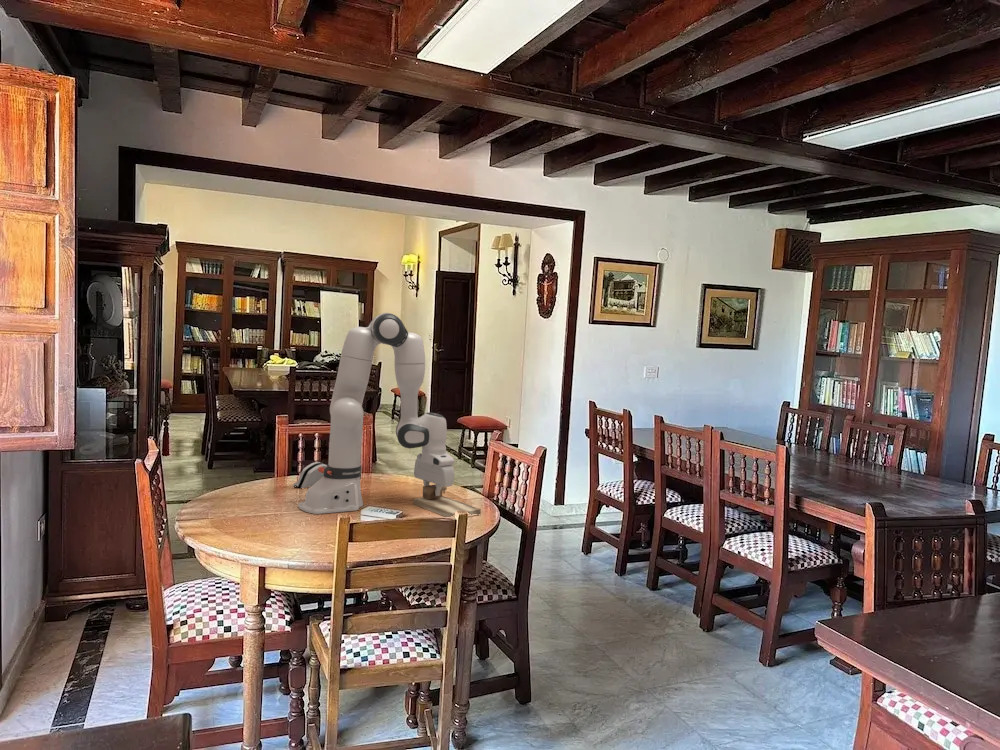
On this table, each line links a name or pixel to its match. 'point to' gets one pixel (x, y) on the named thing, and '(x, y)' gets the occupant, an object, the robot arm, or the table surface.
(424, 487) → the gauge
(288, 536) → the table surface
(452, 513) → the board
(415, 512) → the table surface
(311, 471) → the grey curved piece
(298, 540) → the table surface
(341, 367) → the robot arm
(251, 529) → the table surface
